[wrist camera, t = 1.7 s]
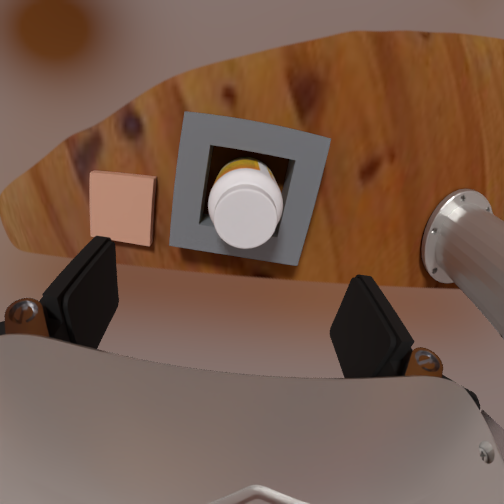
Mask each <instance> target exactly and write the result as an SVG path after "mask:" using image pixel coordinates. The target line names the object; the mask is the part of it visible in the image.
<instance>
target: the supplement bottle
mask: <svg viewBox="0 0 504 504" xmlns="http://www.w3.org/2000/svg"><path fill="white" fill-rule="evenodd" d="M208 211H209V215H210V218H211V220H212V222H213V224H214V226H215V229H216V231H217V233H218V235H219V236H220V237H221V239H222V240H223V241H225V242H226V243H227V244H229V245H231V246H234V247H236V248H242V249H249V248H254V247H258V246H260V245H262V244H263V243H265V242H266V241H267V240H268V239H269V238H270V237H271V236H272V235H273V233H274V231H275V229H276V226H277V224H278V222H279V220H280V218H281V215H282V211H283V199H282V195H281V191H280V189H279V187H278V185H277V182H276V180H275V178H274V176H273V174H272V172H271V170H270V169H269V168H268V166H267V165H266V164H264V163H263V162H262V161H260V160H258V159H255V158H251V157H239V158H236V159H233V160H231V161H230V162H228V163H227V164H226V165H225V166H224V167H223V168H222V169H221V171H220V172H219V174H218V176H217V178H216V180H215V183H214V185H213V187H212V189H211V192H210V195H209V200H208Z"/></svg>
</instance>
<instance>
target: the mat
mask: <svg viewBox="0 0 504 504" xmlns="http://www.w3.org/2000/svg"><path fill="white" fill-rule="evenodd" d="M156 180H157V177H156V176H147V175H138V174H129V173H119V172H109V171H97V170H94V171H92V172H90V229H91V237H95V236H103V237H109V238H111V240H114V241H120V242H126V243H132V244H138V245H144V246H150V245H151V244H152V242H153V221H154V205H155V192H156Z"/></svg>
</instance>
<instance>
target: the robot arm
mask: <svg viewBox="0 0 504 504" xmlns="http://www.w3.org/2000/svg"><path fill="white" fill-rule="evenodd" d="M421 252H422V260H423V264H424V267H425V269H426V271H427V272H428V273H429V274H430V275H431V276H432V277H433V278H434V279H435V280H436V281H439V282H441V283H453V282H454V283H455V284H456V285H457V286H458V287H459V288H460V289H461V290H462V291H463V292H464V293H465V294H466V295H467V297H468V298H469V299H470V300H471V301H472V302H473V303H474V304H475V306H476V307H477V308H478V309H479V310H480V311H481V312H482V314H483V315H484V316H485V317H486V318H487V319H488V321H489V322H490V323H491V324H492V325H493V327H494V328H495V329H496V330H497V332H498V333H499V334H500V335H501V337H502V338H503V339H504V221H503V220H501V219H499V218H498V217H496V216H494V215H493V213H492V209H491V206H490V204H489V202H488V200H487V199H486V198H485V197H484V196H483V195H482V194H480V193H479V192H477V191H474V190H471V189H460V190H457V191H455V192H453V193H451V194H450V195H448V196H447V197H446V198H445V199H444V200H442V201H441V202H440V203H439V205H438V206H437V207H436V209H435V210H434V211H433V213H432V215H431V217H430V219H429V221H428V223H427V226H426V228H425V231H424V235H423V239H422V247H421ZM118 302H119V298H118V286H117V271H116V251H115V243H114V242H112V241H111V238H109V237H103V236H95V237H94V238H93V239H92V240H91V241H90V242H89V243H88V244H87V245H86V246H85V247H84V248H83V249H82V250H81V251H80V253H79V254H78V255H77V256H76V257H75V258H74V259H73V260H72V261H71V262H70V263H69V264H68V265H67V266H66V268H65V269H64V270H63V271H62V272H61V273H60V274H59V276H58V277H57V278H56V279H55V280H54V281H53V282H52V283H51V285H50V286H49V287H48V288H47V289H46V291H45V292H44V293H43V297H42V298H41V300H40V301H38V300H36V299H33V298H22V299H19V300H16V301H14V302H13V303H11V304H10V305H9V306H8V307H7V309H6V311H5V316H4V317H5V321H3V322H0V504H504V429H503V428H502V427H500V425H498V424H497V423H496V422H495V421H494V420H493V419H492V418H491V417H490V416H489V415H488V414H487V413H486V412H485V411H484V410H482V411H481V412H480V404H479V401H478V398H477V396H476V395H475V394H474V393H473V392H472V391H469V390H468V389H466V388H464V387H462V386H461V385H459V384H457V383H456V382H454V381H452V380H451V379H449V378H447V377H445V376H444V375H442V373H443V364H442V362H441V360H440V358H439V357H438V356H437V355H436V354H435V353H434V352H432V351H431V350H429V349H426V348H421V347H420V348H416V349H414V350H412V349H411V346H412V345H413V343H414V340H413V339H412V337H411V335H410V334H409V332H408V331H407V329H406V327H405V326H404V325H403V323H402V321H401V320H400V318H399V317H398V315H397V313H396V312H395V310H394V309H393V308H392V306H391V304H390V303H389V302H388V300H387V299H386V297H385V296H384V294H383V293H382V291H381V290H380V288H379V287H378V285H377V284H376V282H375V281H374V280H373V278H372V277H371V276H365V275H357V276H356V277H355V278H352V279H351V281H350V284H349V286H348V289H347V291H346V293H345V296H344V298H343V301H342V303H341V306H340V308H339V310H338V312H337V314H336V317H335V319H334V321H333V323H332V326H331V328H330V337H331V340H332V343H333V345H334V348H335V351H336V354H337V357H338V360H339V363H340V366H341V369H342V371H343V375H344V377H345V378H296V377H275V376H260V375H247V374H237V373H227V372H218V371H209V370H202V369H195V368H188V367H181V366H175V365H169V364H163V363H158V362H152V361H147V360H142V359H137V358H132V357H128V356H123V355H119V354H114V353H110V352H106V351H102V350H98V349H97V348H98V345H99V343H100V341H101V339H102V337H103V335H104V333H105V331H106V329H107V327H108V325H109V323H110V321H111V319H112V317H113V315H114V313H115V311H116V309H117V307H118Z"/></svg>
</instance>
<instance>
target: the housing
mask: <svg viewBox="0 0 504 504" xmlns="http://www.w3.org/2000/svg"><path fill="white" fill-rule="evenodd" d="M330 141H331V139H330V138H326V137H323V136H319V135H315V134H311V133H307V132H303V131H299V130H295V129H290V128H286V127H281V126H276V125H272V124H267V123H261V122H256V121H251V120H245V119H239V118H233V117H226V116H219V115H212V114H204V113H195V112H185V113H184V119H183V126H182V132H181V139H180V146H179V153H178V161H177V169H176V177H175V186H174V196H173V206H172V217H171V229H170V243H169V246H175V247H181V248H187V249H193V250H200V251H206V252H212V253H218V254H224V255H231V256H237V257H243V258H250V259H256V260H262V261H269V262H275V263H281V264H288V265H294V266H297V265H298V262H299V258H300V255H301V251H302V248H303V244H304V241H305V237H306V234H307V230H308V227H309V223H310V219H311V216H312V212H313V208H314V205H315V201H316V197H317V193H318V190H319V186H320V182H321V178H322V174H323V170H324V166H325V162H326V158H327V154H328V150H329V146H330ZM213 146H221V147H227V148H233V149H239V150H245V151H251V152H256V153H262V154H267V155H272V156H277V157H282V158H287V159H289V163H288V168H287V172H286V177H285V181H284V185H283V190H282V194H281V195H282V199H283V211H282V215H281V218H280V220H279V222H278V224H277V226H276V229H275V231H274V233H273V235H272V236H271V237H270V238H269V239H268V240H267V241H266V242H265V243H263V244H262V245H260V246H258V247H254V248H249V249H242V248H236V247H234V246H231V245H229V244H227V243H226V242H225V241H223V240H222V239H221V237H220V236H219V235H218V233H217V231H216V229H215V226H214V224H213V222H212V220H211V218H210V215H209V214H205V213H204V205H205V198H206V191H207V184H208V178H209V171H210V165H211V159H212V152H213Z"/></svg>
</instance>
